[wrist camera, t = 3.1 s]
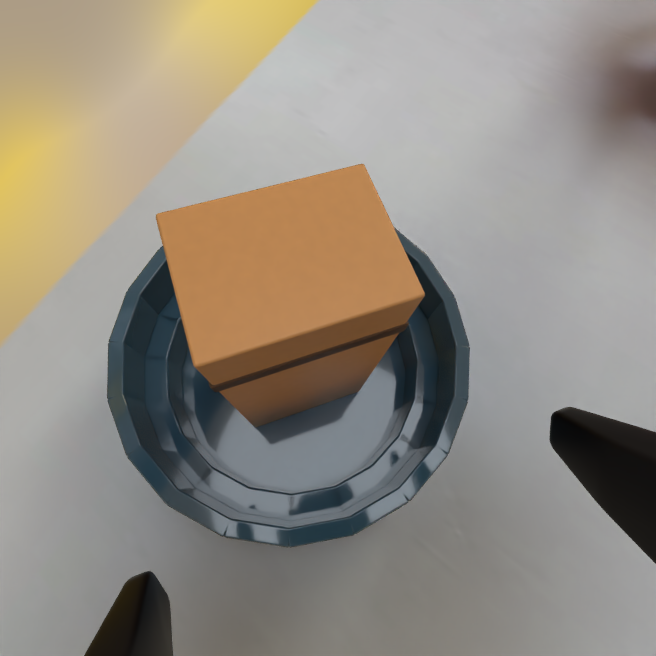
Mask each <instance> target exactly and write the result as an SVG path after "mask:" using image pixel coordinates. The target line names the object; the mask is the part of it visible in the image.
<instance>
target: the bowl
mask: <svg viewBox="0 0 656 656" xmlns="http://www.w3.org/2000/svg"><path fill="white" fill-rule="evenodd" d="M394 229H395V228H394ZM395 231H396V233H397V235H398V238H399V240H400V242H401V244H402V246H403V248H404V250H405V252H406V254H407V257H408V259H409V261H410V263H411V265H412V267H413V269H414V271H415V274H416V276H417V278H418V280H419V282H420V284H421V286H422V288H423V291H424V293H425V296H424V298H423V299H422V301H421V302H420V303H419V305H418V306H417V308H416V309H415V311H414V312H413V314H412V315H411V316H410V318H409V319H408V322H409V325H408V326H407V328H406V329H405V330H404V331H403V332H400V333H399V334H398V335H397V337H396V338H395V340H394V341H393V343H392V344H391V346H390V347H389V348H388V350H387V351H386V353H385V354H384V356H383V357H382V359H381V360H380V361H379V363H378V364H377V366H376V367H375V369H374V370H373V372H372V373H371V375H370V376H369V377H368V379H367V380H366V382H365V383H364V385H363V386H362V388H361V389H360V390H359V392H356V393H353V394H350V395H348V396H345V397H342V398H339V399H336V400H333V401H330V402H327V403H325V404H322V405H319V406H316V407H313V408H310V409H307V410H304V411H302V412H299V413H296V414H293V415H290V416H287V417H284V418H281V419H279V420H276V421H273V422H270V423H267V424H264V425H261V426H258V427H254V426H253V425H252V424H251V423H250V422H249V421H248V420H247V419H246V418H245V417H244V416H243V415H242V414H241V413H240V412H239V411H238V410H237V409H236V408H235V407H234V406H233V405H232V404H231V403H230V402H229V401H228V400H227V399H226V398H225V397H224V396H223V395H222V394H221V393H220V392H214V391H213V390H212V389H211V388H210V386H209V382H208V380H207V379H206V378H205V377H204V376H203V375H202V374H201V373H200V372H199V371H198V370H197V369H196V368H195V367H194V366H193V362H192V358H191V354H190V350H189V346H188V342H187V338H186V334H185V330H184V326H183V323H182V319H181V315H180V311H179V307H178V303H177V299H176V295H175V291H174V287H173V283H172V279H171V275H170V271H169V267H168V263H167V259H166V255H165V251H164V248H163V246H162V247H160V249H159V250H158V251H157V252H156V253H155V255H154V256H153V257H152V259H151V260H150V261H149V263H148V264H147V265H146V266H145V268H144V269H143V270H142V272H141V273H140V274H139V276H138V277H137V278H136V280H135V281H134V282H133V283H132V285H131V286H130V287H129V289H128V291H127V292H126V295H125V298H124V300H123V303H122V306H121V309H120V311H119V314H118V317H117V320H116V322H115V325H114V328H113V331H112V334H111V336H110V339H109V343H108V385H107V399H108V403H109V406H110V409H111V412H112V415H113V418H114V421H115V424H116V427H117V430H118V433H119V436H120V438H121V441H122V444H123V447H124V450H125V453H126V455H127V457H128V459H129V460H130V461H131V462H132V464H133V465H134V466H135V467H136V468H137V470H138V471H139V472H140V473H141V475H142V476H143V477H144V478H145V479H146V481H147V482H148V483H149V484H150V485H151V487H152V488H153V489H154V490H155V491H156V493H157V494H158V495H159V496H160V498H161V499H162V500H163V501H164V502H165V504H167V505H168V506H169V507H171V508H173V509H175V510H176V511H178V512H180V513H182V514H183V515H185V516H187V517H189V518H190V519H192V520H194V521H196V522H197V523H199V524H201V525H203V526H204V527H206V528H208V529H210V530H212V531H213V532H215V533H217V534H219V535H220V536H224V537H226V538H232V539H238V540H244V541H251V542H257V543H263V544H269V545H276V546H282V547H296V546H301V545H306V544H311V543H316V542H321V541H327V540H332V539H337V538H342V537H347V536H352V535H354V534H357V533H358V532H360V531H362V530H363V529H365V528H367V527H368V526H370V525H372V524H373V523H375V522H377V521H378V520H380V519H382V518H383V517H385V516H387V515H388V514H390V513H392V512H394V511H395V510H397V509H399V508H400V507H402V506H404V505H405V504H407V503H408V502H409V501H411V500H412V498H413V497H414V496H415V495H416V494H417V492H418V491H419V490H420V489H421V487H422V486H423V485H424V484H425V483H426V481H427V480H428V479H429V478H430V477H431V475H432V474H433V473H434V472H435V471H436V469H437V468H438V467H439V466H440V464H441V463H442V462H443V461H444V460H445V458H446V457H447V456H448V455H447V454H449V452H450V449H451V446H452V443H453V441H454V438H455V435H456V433H457V430H458V427H459V425H460V422H461V419H462V416H463V414H464V411H465V408H466V406H467V403H468V390H469V354H470V348H469V343H468V339H467V336H466V332H465V329H464V326H463V322H462V319H461V316H460V312H459V309H458V305H457V302H456V299H455V298H454V295H453V293H452V292H451V290H450V289H449V287H448V286H447V284H446V283H445V281H444V280H443V278H442V277H441V275H440V274H439V272H438V271H437V269H436V268H435V266H434V265H433V263H432V262H431V260H430V259H429V257H428V256H427V255H426V254H425V253H424V252H423V251H422V250H420V249H419V248H418V247H417V246H416V245H414V244H413V243H412V242H411V241H410V240H408V239H407V238H406V237H405V236H404V235H402V234H401V233H400V232H399V231H398V230H397V229H395Z"/></svg>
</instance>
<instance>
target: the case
mask: <svg viewBox="0 0 656 656" xmlns="http://www.w3.org/2000/svg"><path fill="white" fill-rule="evenodd" d="M156 220H157V224H158V228H159V232H160V236H161V240H162V244H163V248H164V251H165V255H166V259H167V263H168V267H169V271H170V275H171V279H172V283H173V287H174V291H175V295H176V299H177V303H178V307H179V311H180V315H181V319H182V323H183V326H184V330H185V334H186V338H187V342H188V346H189V350H190V354H191V358H192V362H193V366H194V367H195V368H196V369H197V370H198V371H199V372H200V373H201V374H202V375H203V376H204V377H205V378H206V379H207V380H208V382H209V386H210V388H211V389H212V390H213V391H214V392H220V393H221V394H222V395H223V396H224V397H225V398H226V399H227V400H228V401H229V402H230V403H231V404H232V405H233V406H234V407H235V408H236V409H237V410H238V411H239V412H240V413H241V414H242V415H243V416H244V417H245V418H246V419H247V420H248V421H249V422H250V423H251V424H252V425H253V426H254V427H258V426H261V425H264V424H267V423H270V422H273V421H276V420H279V419H281V418H284V417H287V416H290V415H293V414H296V413H299V412H302V411H304V410H307V409H310V408H313V407H316V406H319V405H322V404H325V403H327V402H330V401H333V400H336V399H339V398H342V397H345V396H348V395H350V394H353V393H356V392H359V390H360V389H361V388H362V386H363V385H364V383H365V382H366V380H367V379H368V377H369V376H370V375H371V373H372V372H373V370H374V369H375V367H376V366H377V364H378V363H379V361H380V360H381V359H382V357H383V356H384V354H385V353H386V351H387V350H388V348H389V347H390V346H391V344H392V343H393V341H394V340H395V338H396V337H397V335H398V334H399V333H400V332H403V331H404V330H405V329H406V328H407V326H408V325H409V322H408V319H409V318H410V316H411V315H412V314H413V312H414V311H415V309H416V308H417V306H418V305H419V303H420V302H421V301H422V299H423V298H424V296H425V293H424V291H423V288H422V286H421V284H420V282H419V280H418V278H417V276H416V274H415V271H414V269H413V267H412V265H411V263H410V261H409V259H408V257H407V254H406V252H405V250H404V248H403V246H402V244H401V242H400V240H399V238H398V235H397V233H396V231H395V229H394V227H393V225H392V223H391V221H390V218H389V216H388V214H387V212H386V210H385V208H384V206H383V204H382V201H381V199H380V197H379V195H378V193H377V191H376V189H375V187H374V185H373V182H372V180H371V178H370V176H369V174H368V172H367V170H366V168H365V165H364V164H359V165H355V166H351V167H347V168H343V169H339V170H335V171H330V172H326V173H322V174H318V175H314V176H310V177H306V178H302V179H298V180H294V181H289V182H285V183H281V184H277V185H273V186H269V187H265V188H261V189H257V190H253V191H248V192H244V193H240V194H236V195H232V196H228V197H224V198H220V199H216V200H212V201H207V202H203V203H199V204H195V205H191V206H187V207H183V208H179V209H175V210H171V211H167V212H162V213H158V214H157V215H156Z"/></svg>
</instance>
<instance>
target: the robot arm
mask: <svg viewBox="0 0 656 656" xmlns="http://www.w3.org/2000/svg"><path fill="white" fill-rule="evenodd" d="M550 443H551V445H552V447H553V449H554V450H555V452H556V453H557V454H558V455H559V456H560V458H561V459H562V460H563V461H564V463H565V464H566V465H567V466H568V468H569V469H570V470H571V471H572V472H573V474H574V475H575V476H576V477H577V479H578V480H579V481H580V482H581V484H582V485H583V486H584V487H585V488H586V490H587V491H588V492H589V493H590V495H591V496H592V497H593V498H594V499H595V501H596V502H597V503H598V504H599V505H600V506H601V508H602V509H603V510H604V511H605V512H606V513H607V514H608V515H609V516H610V517H611V518H612V519H613V520H614V521H615V522H616V523H617V524H618V525H619V526H620V527H621V529H622V530H623V531H624V532H625V533H626V534H627V535H628V536H629V537H630V538H631V539H632V540H633V541H634V542H635V543H636V544H637V545H638V546H639V547H640V548H641V549H642V550H643V551H644V552H645V553H646V554H647V555H648V556H649V557H650V558H651V559H652V560H653V562H654V563H655V564H656V432H653V431H650V430H647V429H643V428H640V427H637V426H633V425H630V424H627V423H623V422H620V421H617V420H613V419H610V418H607V417H603V416H600V415H597V414H593V413H590V412H587V411H583V410H580V409H577V408H573V407H566V408H563V409H561V410H558V411H556V412H554V413H553V414H552V416H551V426H550ZM84 656H173V646H172V628H171V611H170V602H169V598H168V595H167V593H166V592H165V590H164V588H163V587H162V585H161V584H160V582H159V581H158V579H157V578H156V576H155V575H154V574H153V572H151V571H147V572H144V573H141V574H139V575H136V576H134V577H132V578H130V579H129V580H128V581H127V582H126V583H125V584H124V586H123V588H122V590H121V591H120V593H119V595H118V597H117V598H116V600H115V602H114V604H113V606H112V607H111V609H110V611H109V613H108V614H107V616H106V618H105V620H104V621H103V623H102V625H101V627H100V629H99V630H98V632H97V634H96V636H95V637H94V639H93V641H92V643H91V644H90V646H89V648H88V650H87V652H86V653H85V655H84Z"/></svg>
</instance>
